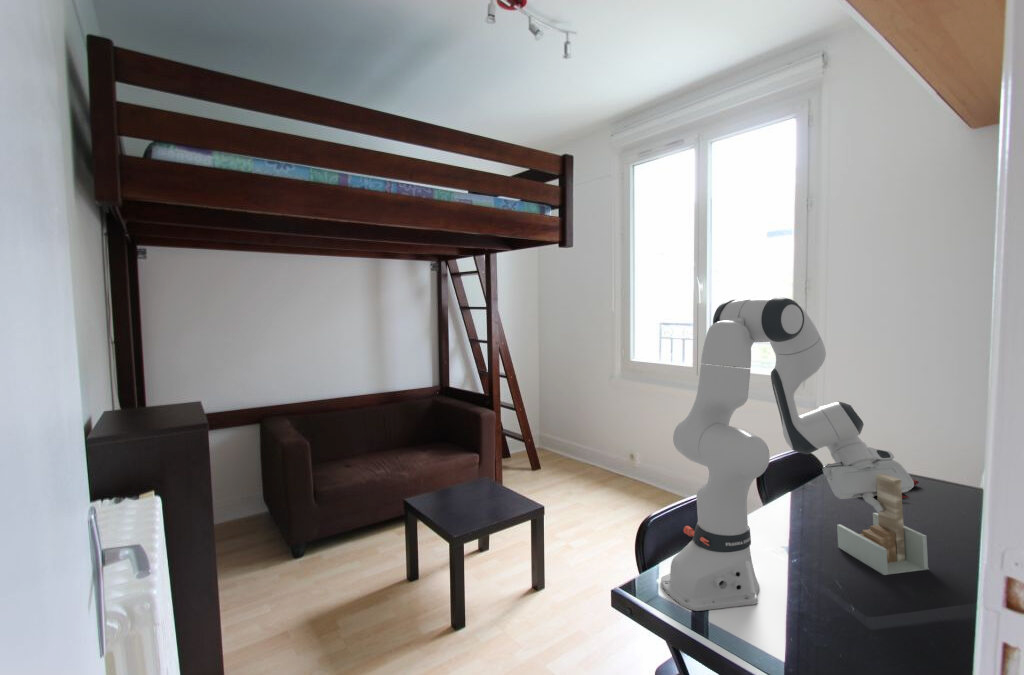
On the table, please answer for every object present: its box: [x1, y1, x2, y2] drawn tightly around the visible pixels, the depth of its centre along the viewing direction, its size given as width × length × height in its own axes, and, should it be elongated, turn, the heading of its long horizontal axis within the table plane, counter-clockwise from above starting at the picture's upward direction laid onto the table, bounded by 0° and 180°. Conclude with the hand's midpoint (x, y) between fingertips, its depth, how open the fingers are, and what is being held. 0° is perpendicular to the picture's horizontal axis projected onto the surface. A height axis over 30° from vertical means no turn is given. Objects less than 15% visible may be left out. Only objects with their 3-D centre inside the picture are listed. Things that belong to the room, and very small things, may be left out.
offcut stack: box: [858, 524, 896, 563], centre depth 119 cm, size 6×6×7 cm
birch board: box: [876, 474, 905, 561], centre depth 119 cm, size 2×5×20 cm, turn 5°
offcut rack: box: [836, 512, 929, 576], centre depth 119 cm, size 12×14×10 cm
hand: (888, 510), depth 120 cm, fingers closed on birch board, 2 cm apart
